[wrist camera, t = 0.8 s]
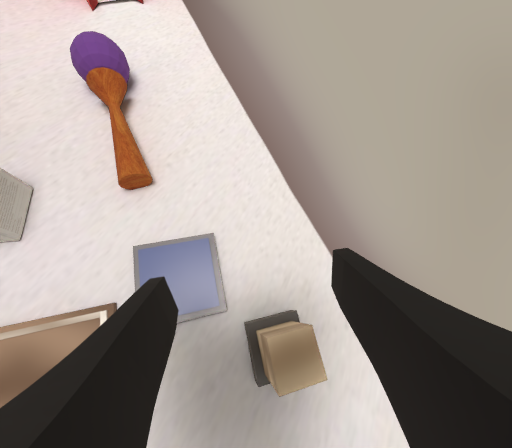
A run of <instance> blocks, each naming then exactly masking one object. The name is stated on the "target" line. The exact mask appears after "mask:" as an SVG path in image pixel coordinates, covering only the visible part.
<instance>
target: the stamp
mask: <svg viewBox="0 0 512 448" xmlns="http://www.w3.org/2000/svg"><path fill="white" fill-rule="evenodd" d="M244 324H245V329H246V335H247V340H248V345H249V350H250V355H251V361H252V366H253V371H254V376H255V381H256V383H257V385H258V387H261V386H264V385H267V384H270V383H271V384H272V386H273V388H274V389H275V391H276V392H277V394H278V395H279V397H280V396H283V395H286V394H289V393H292V392H295V391H297V390H300V389H303V388H306V387H309V386H312V385H314V384H317V383H320V382H323V381H326V380H327V376H326V373H325V369H324V366H323V362H322V359H321V355H320V352H319V348H318V345H317V341H316V338H315V334H314V330H313V327H312V325H309V324H304V323H300V322H299V318H298V314H297V311H294V310H290V311H286V312H282V313H278V314H275V315H271V316H267V317H263V318H259V319H256V320H252V321H248V322H244Z"/></svg>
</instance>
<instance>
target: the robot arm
mask: <svg viewBox="0 0 512 448" xmlns="http://www.w3.org/2000/svg"><path fill="white" fill-rule="evenodd" d="M331 286H332V289H333V291H334V294H335V296H336V299H337V301H338V303H339V306H340V308H341V310H342V312H343V313H344V315H345V317H346V319H347V321H348V322H349V324H350V326H351V328H352V329H353V331H354V333H355V335H356V336H357V338H358V340H359V342H360V344H361V345H362V347H363V349H364V351H365V352H366V354H367V356H368V358H369V359H370V361H371V363H372V365H373V367H374V369H375V371H376V373H377V375H378V377H379V379H380V381H381V383H382V385H383V388H384V390H385V392H386V394H387V396H388V399H389V401H390V403H391V405H392V407H393V410H394V412H395V414H396V416H397V419H398V421H399V423H400V426H401V428H402V430H403V432H404V435H405V437H406V439H407V442H408V444H409V446H410V448H512V332H511V331H509V330H506V329H504V328H501V327H499V326H496V325H493V324H491V323H489V322H486V321H484V320H482V319H479V318H477V317H475V316H473V315H470V314H468V313H466V312H464V311H462V310H459V309H457V308H455V307H453V306H451V305H448V304H446V303H444V302H442V301H440V300H438V299H436V298H434V297H432V296H430V295H428V294H426V293H424V292H423V291H420V290H419V289H417V288H415V287H413V286H411V285H409V284H407V283H405V282H404V281H402V280H400V279H399V278H397V277H395V276H393V275H392V274H390V273H388V272H387V271H385V270H383V269H381V268H380V267H378V266H376V265H375V264H373V263H372V262H370V261H368V260H367V259H365V258H364V257H362V256H360V255H359V254H357V253H355V252H354V251H352V250H350V249H348V248H343V249H336V250H333V262H332V285H331ZM178 312H179V310H178V307H177V305H176V303H175V300H174V298H173V296H172V293H171V291H170V289H169V286H168V284H167V282H166V279H165V277H164V276H163V277H156V278H150V279H149V280H148V281H146V282H145V283H144V284H143V285H142V286H141V287H140V288H139V289H138V290H137V291H136V292H135V293H134V294H133V295H132V296H131V297H130V298H129V299H128V300H127V301H126V302H125V303H124V304H123V305H122V306H121V307H120V308H118V309H117V310H116V311H115V312H114V313H113V314H112V315H111V316H110V317H109V318H108V319H107V320H106V321H105V322H104V323H103V324H102V325H101V326H100V327H99V328H97V329H96V330H95V331H94V332H93V333H92V334H91V335H90V336H89V337H88V338H86V339H85V340H84V341H83V342H82V343H81V344H80V345H79V346H78V347H77V348H75V349H74V350H73V351H72V352H71V353H70V354H68V355H67V356H66V357H65V358H64V359H63V360H61V361H60V362H59V363H58V364H57V365H55V366H54V367H53V368H52V369H50V370H49V371H48V372H47V373H45V374H44V375H43V376H42V377H41V378H39V379H38V380H37V381H36V382H34V383H33V384H32V385H30V386H29V387H28V388H27V389H25V390H24V391H23V392H21V393H20V394H18V395H17V396H16V397H14V398H13V399H12V400H10V401H9V402H8V403H6V404H5V405H4V406H2V407H1V408H0V448H146V446H147V441H148V436H149V431H150V426H151V421H152V416H153V411H154V407H155V403H156V399H157V395H158V391H159V388H160V385H161V381H162V378H163V374H164V371H165V367H166V364H167V361H168V357H169V354H170V350H171V347H172V343H173V339H174V336H175V331H176V325H177V319H178Z"/></svg>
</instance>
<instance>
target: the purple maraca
mask: <svg viewBox="0 0 512 448" xmlns="http://www.w3.org/2000/svg"><path fill="white" fill-rule="evenodd" d="M70 52H71V59H72V63H73V66H74V67H75V69H76V71H77V72H78V74H79V75H80V76H81V77H82V78H83V79H84V80H85V81H86V82H87V85H88V86H89V88H90V89H91V90H92V91H93V92H94V93H95V94H96V95H97V96H98V97H99V98H100V99H101V100H102V101H103V102H104V103H105V104H106V105H107V106H108V107H109V111H110V119H111V127H112V135H113V143H114V151H115V159H116V167H117V175H118V183H119V185H120V186H121V187H122V188H125V189H130V190H133V189H137V188H141V187H145V186H149V185H150V184H151V183H152V177H151V175H150V173H149V171H148V169H147V166H146V164H145V162H144V160H143V158H142V155H141V153H140V151H139V149H138V147H137V144H136V142H135V140H134V138H133V135H132V133H131V131H130V129H129V127H128V124H127V122H126V120H125V118H124V116H123V113H122V111H121V109H120V106H121V103H122V101H123V98H124V96H125V93H126V91H127V81H128V79H129V71H130V69H129V66H128V63H127V60H126V57H125V55H124V53H123V51H122V50H121V49H120V48H119V47H118V46H117V44H116V43H114V42H113V41H112V40H111V39H109V38H108V37H106V36H105V35H103V34H100V33H97V32H93V31H90V32H82V33H81V34H79V35H77V36H76V37H75V39H74V40H73V42H72V44H71V47H70Z"/></svg>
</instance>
